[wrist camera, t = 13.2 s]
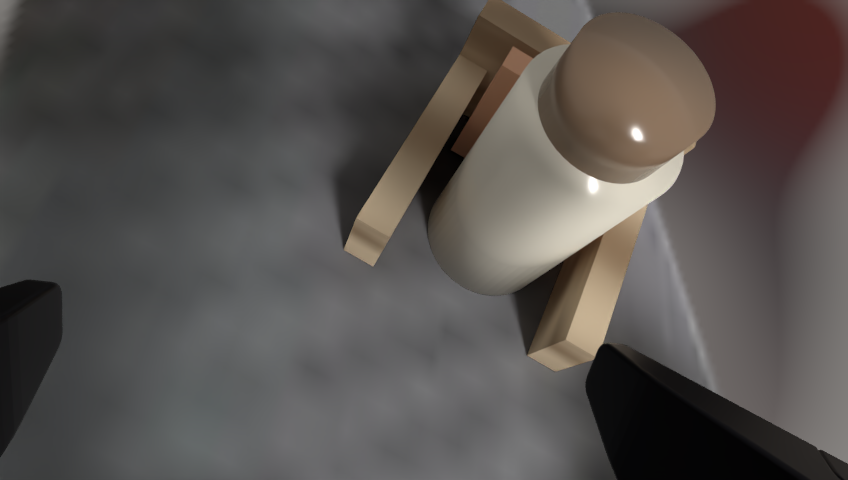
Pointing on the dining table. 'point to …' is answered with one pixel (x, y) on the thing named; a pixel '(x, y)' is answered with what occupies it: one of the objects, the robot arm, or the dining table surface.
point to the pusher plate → (491, 100)
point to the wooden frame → (458, 94)
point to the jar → (571, 153)
